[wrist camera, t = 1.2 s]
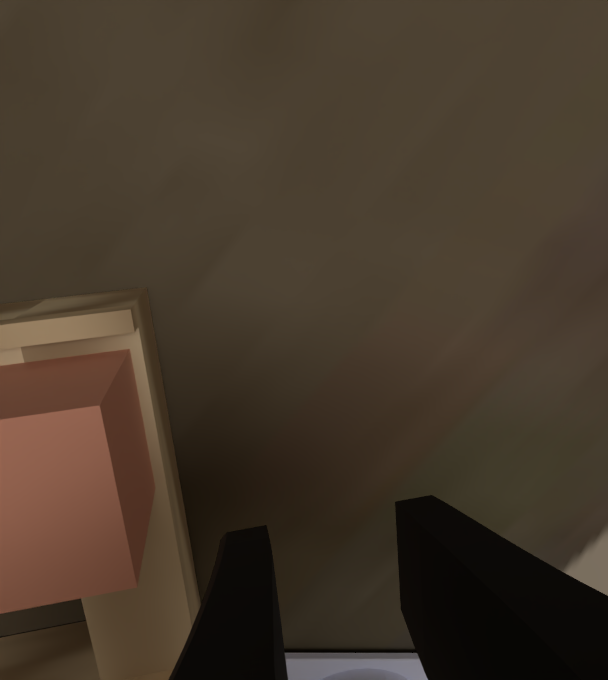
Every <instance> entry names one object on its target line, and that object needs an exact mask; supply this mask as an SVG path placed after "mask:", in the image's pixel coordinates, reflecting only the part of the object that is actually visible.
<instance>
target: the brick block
mask: <svg viewBox="0 0 608 680" xmlns="http://www.w3.org/2000/svg"><path fill="white" fill-rule="evenodd" d="M154 493H155V482H154V477H153V472H152V466H151V461H150V455H149V450H148V445H147V439H146V434H145V428H144V423H143V417H142V412H141V407H140V401H139V396H138V390H137V385H136V380H135V374H134V369H133V363H132V358H131V352H130V349H124V350H117V351H109V352H102V353H94V354H86V355H79V356H71V357H63V358H56V359H48V360H40V361H33V362H25V363H17V364H10V365H2V366H0V614H2V613H7V612H12V611H18V610H23V609H28V608H33V607H38V606H44V605H49V604H54V603H59V602H64V601H70V600H75V599H80V598H85V597H90V596H96V595H101V594H106V593H111V592H116V591H122V590H127V589H132V588H137V586H138V580H139V575H140V570H141V564H142V559H143V553H144V548H145V542H146V537H147V532H148V526H149V521H150V515H151V510H152V504H153V499H154Z"/></svg>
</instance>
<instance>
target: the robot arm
mask: <svg viewBox="0 0 608 680" xmlns="http://www.w3.org/2000/svg"><path fill="white" fill-rule="evenodd" d="M395 507H396V526H397V545H398V564H399V582H400V601H401V611H402V613H403V616H404V619H405V622H406V624H407V627H408V630H409V633H410V635H411V638H412V641H413V644H414V646H415V649H416V651H417V653H285V651H284V643H283V635H282V627H281V619H280V611H279V603H278V595H277V587H276V579H275V571H274V563H273V555H272V549H271V544H270V539H269V535H268V530H267V526H266V525H265V526H260V527H254V528H249V529H243V530H238V531H232V532H227V533H226V534H225V535H224V537H223V538H222V539H221V540H220V545H219V551H218V555H217V558H216V562H215V566H214V569H213V572H212V575H211V578H210V581H209V584H208V587H207V590H206V593H205V596H204V598H203V601H202V604H201V606H200V608H199V611H198V613H197V616H196V618H195V621H194V623H193V626H192V628H191V631H190V633H189V636H188V638H187V641H186V643H185V645H184V648H183V650H182V652H181V654H180V656H179V658H178V661H177V663H176V665H175V667H174V669H173V671H172V673H171V675H170V677H169V679H168V680H608V596H607V595H605V594H603V593H601V592H599V591H597V590H595V589H593V588H592V587H589V586H588V585H586V584H584V583H582V582H580V581H578V580H576V579H574V578H573V577H571V576H569V575H567V574H565V573H564V572H562V571H560V570H558V569H556V568H554V567H553V566H551V565H549V564H547V563H546V562H544V561H542V560H540V559H539V558H537V557H535V556H533V555H532V554H530V553H528V552H527V551H525V550H523V549H521V548H520V547H518V546H516V545H515V544H513V543H511V542H510V541H508V540H506V539H505V538H503V537H501V536H499V535H498V534H496V533H495V532H493V531H491V530H490V529H488V528H486V527H485V526H483V525H481V524H480V523H478V522H476V521H475V520H473V519H472V518H470V517H468V516H467V515H465V514H463V513H462V512H460V511H458V510H457V509H455V508H453V507H452V506H450V505H448V504H447V503H445V502H443V501H442V500H440V499H438V498H436V497H434V496H432V495H430V496H424V497H419V498H413V499H408V500H402V501H397V502H395Z"/></svg>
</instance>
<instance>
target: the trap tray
mask: <svg viewBox="0 0 608 680" xmlns="http://www.w3.org/2000/svg"><path fill="white" fill-rule="evenodd" d="M124 349H130V352H131V358H132V363H133V369H134V374H135V380H136V385H137V390H138V396H139V401H140V407H141V412H142V417H143V423H144V428H145V434H146V439H147V445H148V450H149V455H150V461H151V466H152V472H153V477H154V482H155V493H154V499H153V504H152V510H151V515H150V521H149V526H148V532H147V537H146V542H145V548H144V553H143V559H142V564H141V570H140V575H139V580H138V586H137V588H132V589H127V590H122V591H116V592H111V593H106V594H101V595H96V596H90V597H85V598H81V600H82V605H83V609H84V613H85V617H86V621H82V622H77V623H72V624H67V625H62V626H57V627H52V628H47V629H42V630H37V631H31V632H26V633H21V634H16V635H11V636H6V637H1V638H0V680H168V679H169V677H170V675H171V673H172V671H173V669H174V667H175V665H176V663H177V661H178V658H179V656H180V654H181V652H182V650H183V648H184V645H185V643H186V641H187V638H188V636H189V633H190V631H191V628H192V626H193V623H194V621H195V618H196V616H197V613H198V611H199V608H200V606H201V602H200V596H199V590H198V585H197V579H196V573H195V567H194V561H193V555H192V549H191V544H190V538H189V532H188V526H187V520H186V514H185V508H184V503H183V497H182V491H181V485H180V479H179V473H178V467H177V462H176V456H175V450H174V444H173V438H172V432H171V426H170V421H169V415H168V409H167V403H166V397H165V391H164V385H163V380H162V374H161V368H160V362H159V356H158V350H157V344H156V339H155V333H154V327H153V321H152V315H151V309H150V303H149V297H148V292H147V287H143V288H135V289H126V290H117V291H109V292H100V293H91V294H83V295H74V296H65V297H57V298H48V299H39V300H31V301H22V302H13V303H5V304H0V366H2V365H10V364H17V363H25V362H33V361H40V360H48V359H56V358H63V357H71V356H79V355H86V354H94V353H102V352H109V351H117V350H124Z"/></svg>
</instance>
